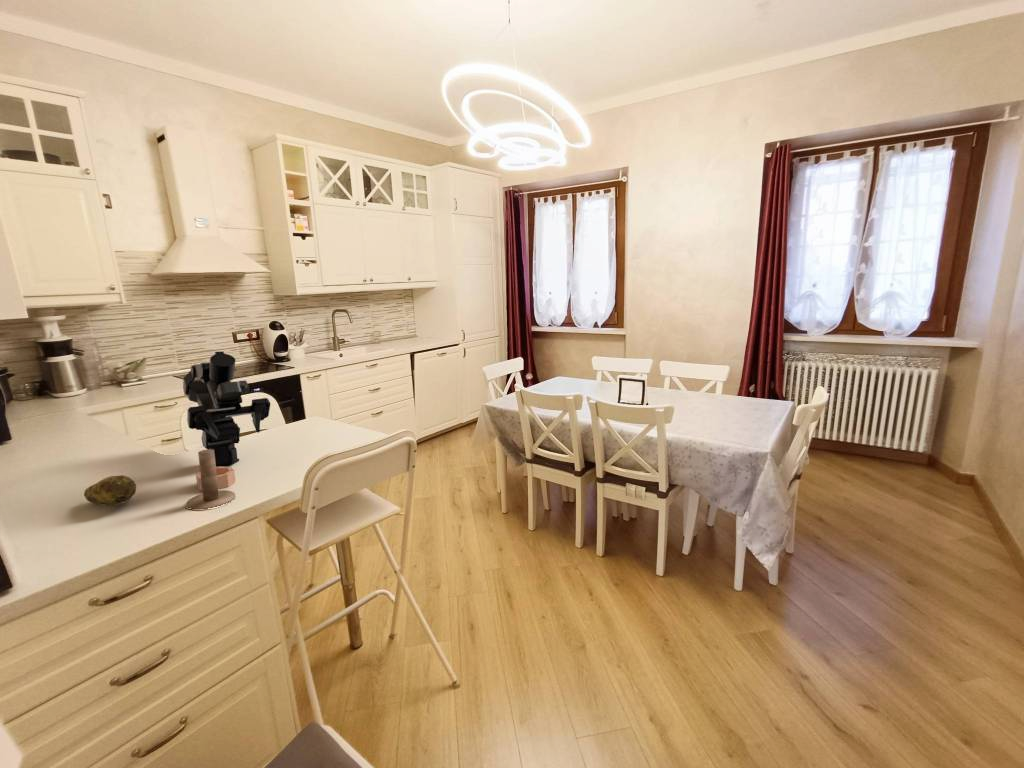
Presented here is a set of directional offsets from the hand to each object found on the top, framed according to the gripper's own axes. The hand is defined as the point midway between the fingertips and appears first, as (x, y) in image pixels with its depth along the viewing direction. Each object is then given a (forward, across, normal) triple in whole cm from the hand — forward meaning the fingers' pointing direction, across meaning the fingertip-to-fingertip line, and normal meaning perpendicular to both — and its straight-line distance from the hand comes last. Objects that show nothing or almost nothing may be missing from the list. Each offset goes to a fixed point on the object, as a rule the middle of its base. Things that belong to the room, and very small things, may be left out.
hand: (239, 434), depth 116 cm
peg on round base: (+12, -8, +10) cm, 17 cm away
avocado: (+2, -26, +16) cm, 30 cm away
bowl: (+3, -5, +15) cm, 16 cm away
